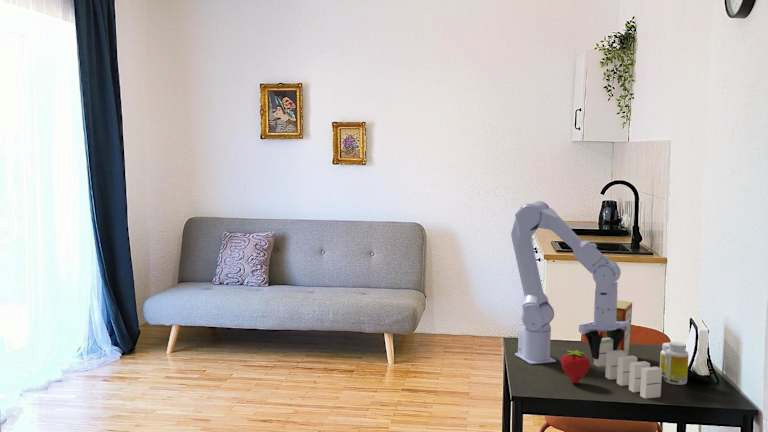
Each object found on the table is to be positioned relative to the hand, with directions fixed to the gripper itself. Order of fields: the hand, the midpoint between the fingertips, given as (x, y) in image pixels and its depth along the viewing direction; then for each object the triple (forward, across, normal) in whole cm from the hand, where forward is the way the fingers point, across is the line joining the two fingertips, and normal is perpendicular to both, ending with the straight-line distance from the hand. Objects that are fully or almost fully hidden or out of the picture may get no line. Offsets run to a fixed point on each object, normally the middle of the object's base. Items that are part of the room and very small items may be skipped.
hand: (603, 357), depth 207 cm
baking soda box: (+4, +10, +9) cm, 14 cm away
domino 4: (+4, 0, -20) cm, 20 cm away
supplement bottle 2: (+4, +13, -13) cm, 19 cm away
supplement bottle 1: (+4, +15, -8) cm, 17 cm away
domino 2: (+4, 0, -10) cm, 11 cm away
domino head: (+2, 0, 0) cm, 2 cm away
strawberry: (+4, -13, -6) cm, 15 cm away
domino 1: (+4, 0, -6) cm, 7 cm away
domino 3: (+4, 0, -16) cm, 16 cm away
